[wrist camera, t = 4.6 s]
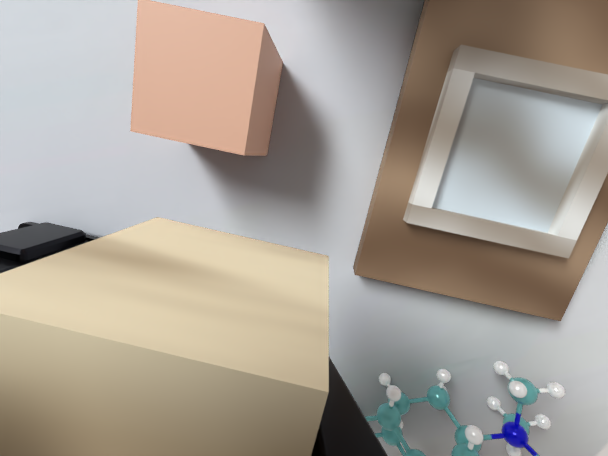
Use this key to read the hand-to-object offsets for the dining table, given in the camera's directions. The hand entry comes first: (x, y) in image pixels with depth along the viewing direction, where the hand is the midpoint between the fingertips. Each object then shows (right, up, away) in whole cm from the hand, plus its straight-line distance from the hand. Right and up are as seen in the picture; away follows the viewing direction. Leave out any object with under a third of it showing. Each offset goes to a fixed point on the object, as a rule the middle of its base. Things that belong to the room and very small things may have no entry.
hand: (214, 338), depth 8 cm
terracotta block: (-2, +10, +9) cm, 14 cm away
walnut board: (+13, +7, +9) cm, 17 cm away
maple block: (0, 0, +1) cm, 1 cm away
